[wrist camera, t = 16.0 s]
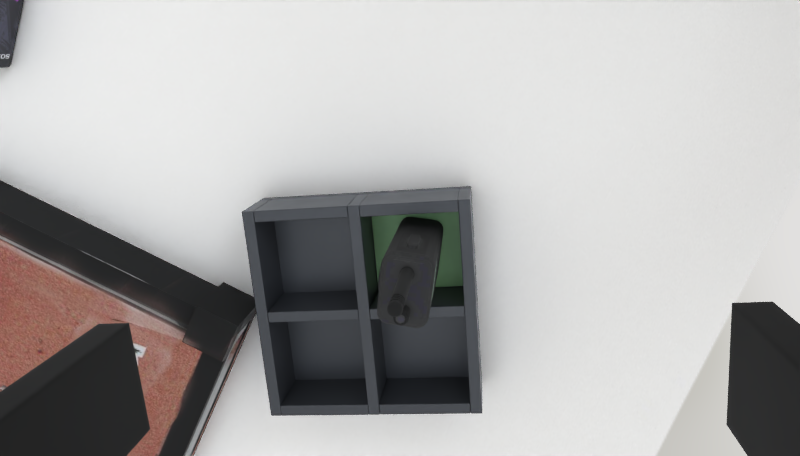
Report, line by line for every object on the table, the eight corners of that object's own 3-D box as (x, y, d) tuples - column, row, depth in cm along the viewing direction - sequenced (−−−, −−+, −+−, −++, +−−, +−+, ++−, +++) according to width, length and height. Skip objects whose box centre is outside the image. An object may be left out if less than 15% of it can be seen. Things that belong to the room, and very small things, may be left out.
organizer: (470, 186, 46) (470, 199, 41) (481, 382, 49) (482, 413, 45) (263, 198, 48) (241, 211, 43) (288, 385, 51) (271, 415, 47)
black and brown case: (-91, 336, 55) (-146, 362, 50) (-43, 152, 50) (-99, 162, 45) (186, 471, 55) (158, 510, 50) (261, 300, 50) (237, 326, 45)
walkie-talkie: (437, 280, 47) (417, 377, 33) (391, 274, 47) (352, 367, 33) (445, 217, 46) (429, 289, 31) (398, 210, 46) (361, 279, 32)
